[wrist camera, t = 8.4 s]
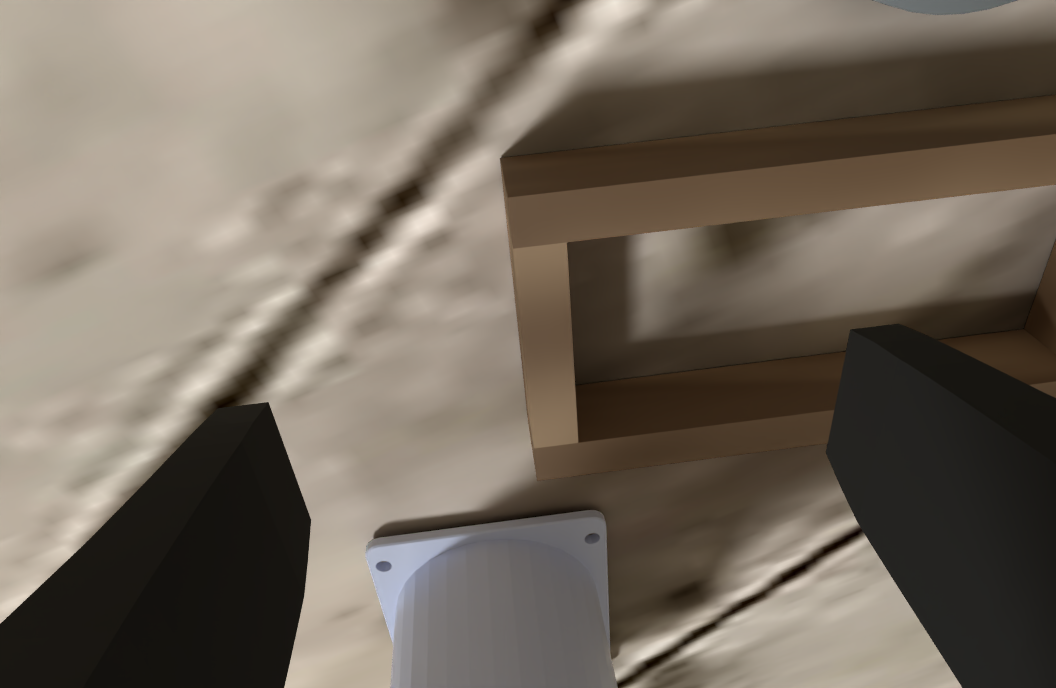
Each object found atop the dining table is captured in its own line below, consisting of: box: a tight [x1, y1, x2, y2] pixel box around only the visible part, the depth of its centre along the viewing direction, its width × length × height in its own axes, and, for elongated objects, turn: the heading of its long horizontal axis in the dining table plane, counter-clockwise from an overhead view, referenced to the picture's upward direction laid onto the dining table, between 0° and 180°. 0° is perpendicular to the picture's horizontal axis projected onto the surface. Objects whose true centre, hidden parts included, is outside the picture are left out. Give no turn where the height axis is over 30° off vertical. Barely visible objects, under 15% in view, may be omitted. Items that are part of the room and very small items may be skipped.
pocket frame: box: [500, 95, 1056, 481], centre depth 19 cm, size 8×16×2 cm, turn 95°
